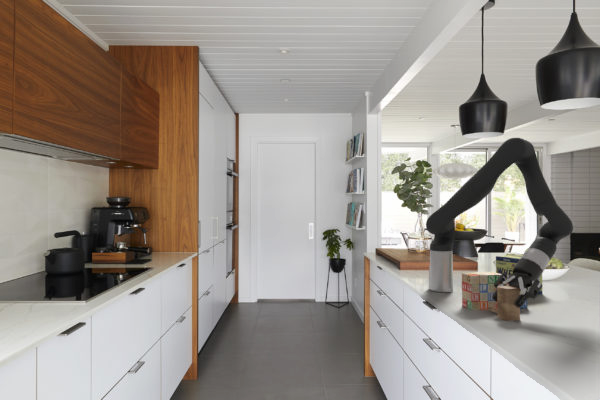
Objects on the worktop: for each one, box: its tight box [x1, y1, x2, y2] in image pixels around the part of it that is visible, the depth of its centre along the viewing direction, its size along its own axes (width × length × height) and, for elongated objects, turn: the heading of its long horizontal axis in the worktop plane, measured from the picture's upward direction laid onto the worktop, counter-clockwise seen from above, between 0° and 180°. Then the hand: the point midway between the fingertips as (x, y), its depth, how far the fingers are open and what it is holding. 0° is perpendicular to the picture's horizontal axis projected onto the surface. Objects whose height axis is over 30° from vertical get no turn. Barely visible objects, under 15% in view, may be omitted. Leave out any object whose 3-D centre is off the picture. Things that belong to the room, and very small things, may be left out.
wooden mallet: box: [488, 286, 521, 322], centre depth 126 cm, size 10×5×10 cm, turn 18°
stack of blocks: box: [461, 271, 528, 311], centre depth 138 cm, size 21×6×12 cm, turn 98°
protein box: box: [495, 253, 543, 296], centre depth 159 cm, size 10×16×16 cm
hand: (505, 302), depth 123 cm, fingers open, 8 cm apart
